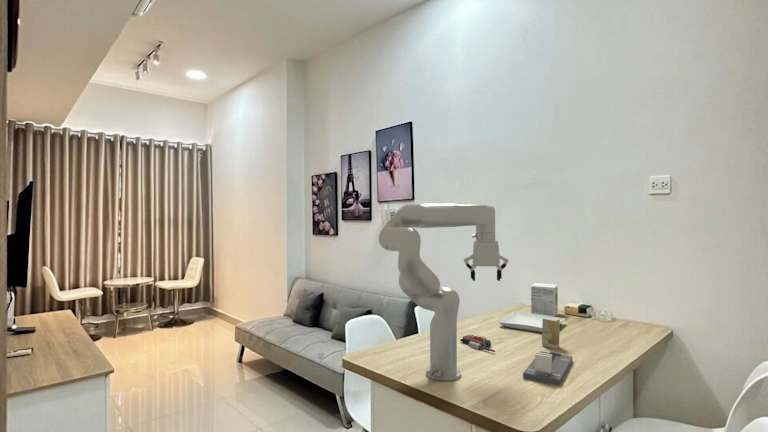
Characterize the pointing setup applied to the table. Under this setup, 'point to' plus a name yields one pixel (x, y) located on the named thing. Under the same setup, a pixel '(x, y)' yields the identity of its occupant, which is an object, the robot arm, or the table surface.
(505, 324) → the square plate
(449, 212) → the robot arm
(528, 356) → the table surface
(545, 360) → the fader knob
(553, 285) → the supplement box
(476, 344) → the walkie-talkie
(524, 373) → the slider console
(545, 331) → the skincare box
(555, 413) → the table surface
